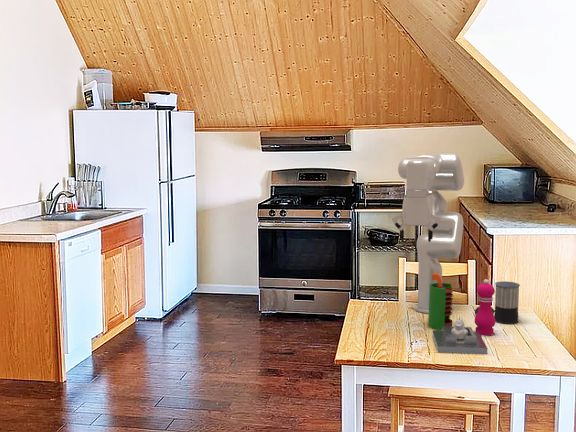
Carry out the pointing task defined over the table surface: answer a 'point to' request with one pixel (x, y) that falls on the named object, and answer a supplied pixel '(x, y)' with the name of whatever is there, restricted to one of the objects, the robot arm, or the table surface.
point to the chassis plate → (458, 341)
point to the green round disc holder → (440, 304)
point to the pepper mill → (485, 309)
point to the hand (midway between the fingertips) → (415, 241)
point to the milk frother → (506, 302)
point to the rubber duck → (459, 329)
